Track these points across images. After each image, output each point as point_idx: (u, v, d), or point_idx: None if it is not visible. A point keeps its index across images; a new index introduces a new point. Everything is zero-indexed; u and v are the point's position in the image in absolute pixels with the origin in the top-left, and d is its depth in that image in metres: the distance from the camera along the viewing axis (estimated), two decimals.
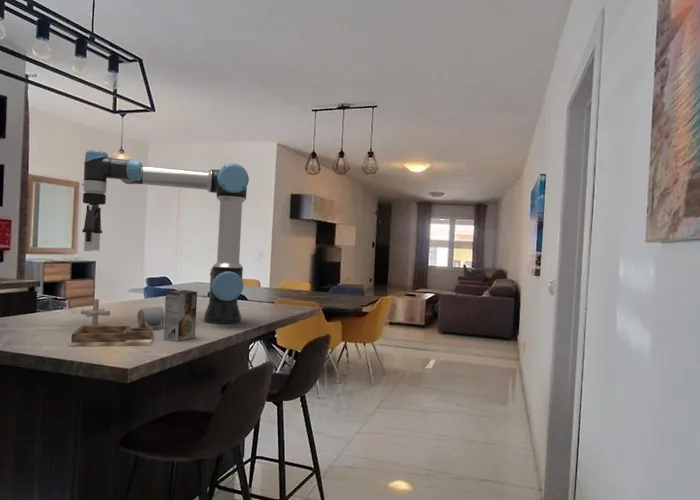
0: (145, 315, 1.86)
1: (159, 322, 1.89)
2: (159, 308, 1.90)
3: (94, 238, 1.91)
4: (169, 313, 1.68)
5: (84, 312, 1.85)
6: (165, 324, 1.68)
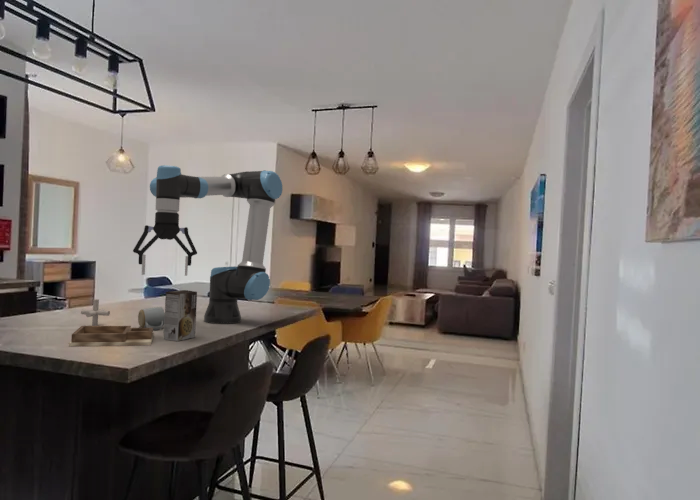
0: (146, 315, 1.85)
1: (160, 322, 1.88)
2: (160, 308, 1.90)
3: None
4: (169, 313, 1.68)
5: (84, 312, 1.85)
6: (165, 324, 1.68)
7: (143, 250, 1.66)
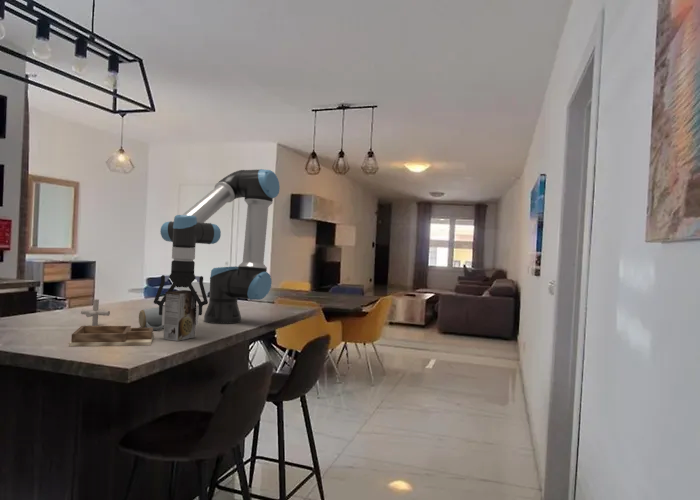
0: (146, 315, 1.84)
1: (160, 323, 1.87)
2: None
3: None
4: (169, 313, 1.68)
5: (84, 312, 1.85)
6: (165, 324, 1.68)
7: (163, 301, 1.68)
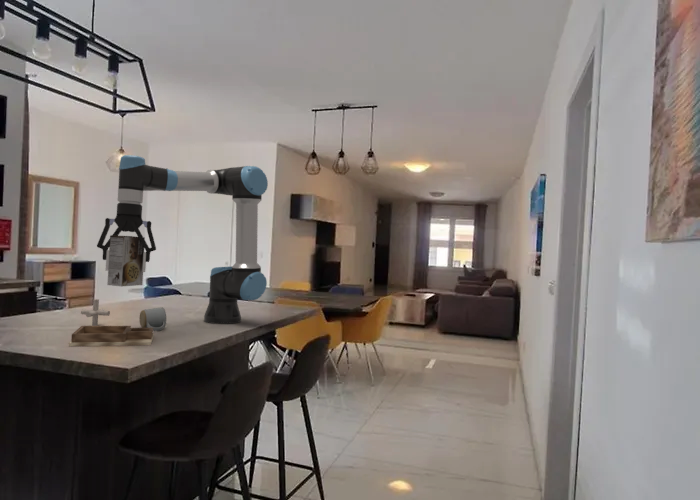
0: (147, 315, 1.84)
1: (161, 323, 1.87)
2: (161, 309, 1.89)
3: None
4: (113, 257, 1.59)
5: (84, 312, 1.85)
6: (109, 269, 1.60)
7: (107, 245, 1.60)
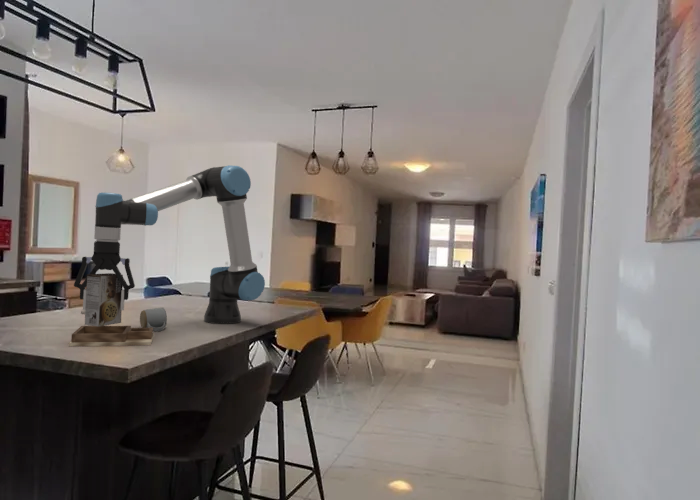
0: (147, 316, 1.84)
1: (162, 323, 1.86)
2: (162, 309, 1.88)
3: None
4: (90, 297, 1.57)
5: (84, 312, 1.85)
6: (86, 309, 1.58)
7: (84, 284, 1.58)
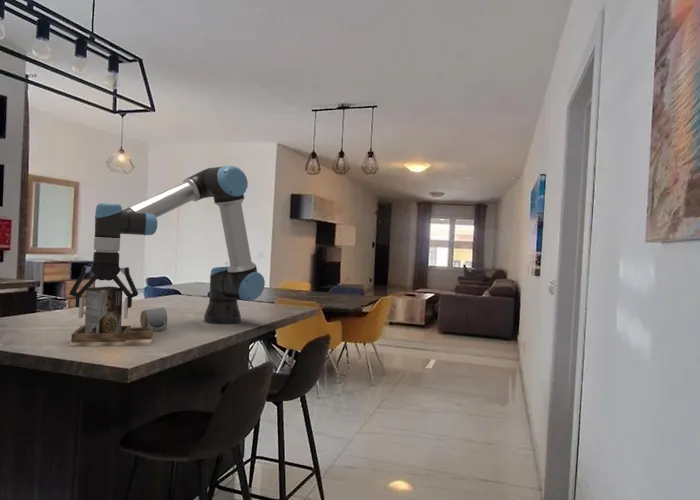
0: (148, 316, 1.83)
1: (162, 323, 1.86)
2: (162, 309, 1.88)
3: None
4: (89, 311, 1.57)
5: (84, 312, 1.85)
6: (86, 322, 1.58)
7: (80, 292, 1.58)
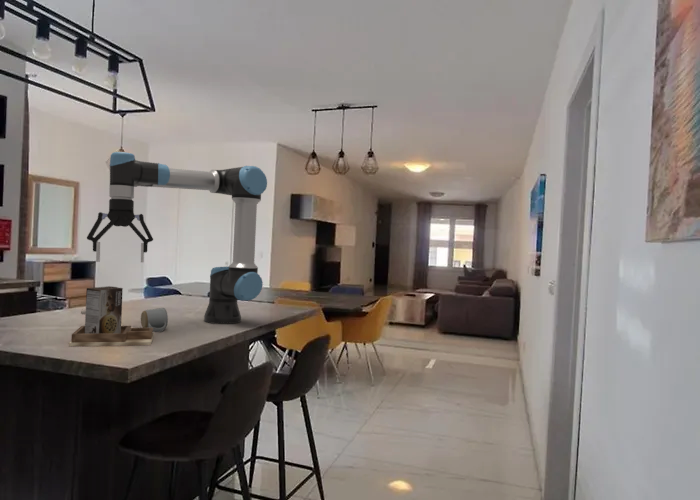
0: (148, 316, 1.83)
1: (163, 324, 1.85)
2: (163, 309, 1.87)
3: None
4: (90, 311, 1.57)
5: (84, 312, 1.85)
6: (86, 322, 1.58)
7: (97, 237, 1.65)
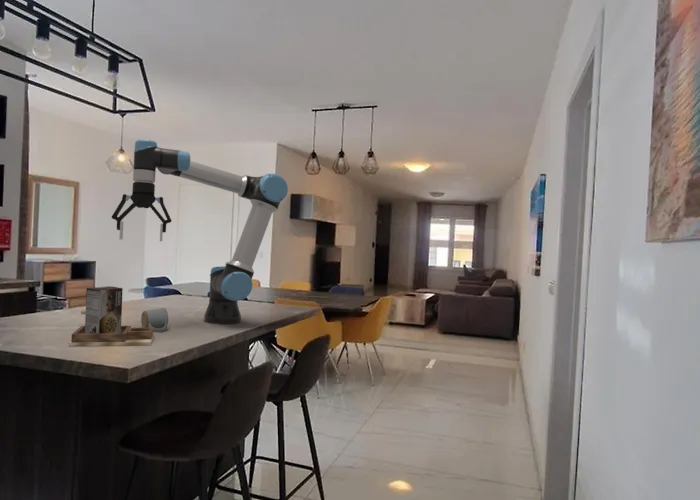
0: (149, 316, 1.82)
1: (163, 324, 1.85)
2: (163, 310, 1.87)
3: None
4: (90, 311, 1.57)
5: (84, 312, 1.85)
6: (86, 322, 1.58)
7: (121, 217, 1.80)
